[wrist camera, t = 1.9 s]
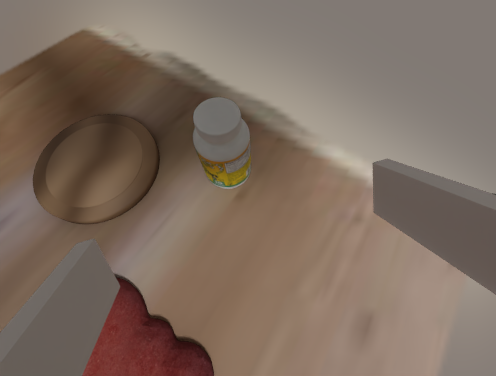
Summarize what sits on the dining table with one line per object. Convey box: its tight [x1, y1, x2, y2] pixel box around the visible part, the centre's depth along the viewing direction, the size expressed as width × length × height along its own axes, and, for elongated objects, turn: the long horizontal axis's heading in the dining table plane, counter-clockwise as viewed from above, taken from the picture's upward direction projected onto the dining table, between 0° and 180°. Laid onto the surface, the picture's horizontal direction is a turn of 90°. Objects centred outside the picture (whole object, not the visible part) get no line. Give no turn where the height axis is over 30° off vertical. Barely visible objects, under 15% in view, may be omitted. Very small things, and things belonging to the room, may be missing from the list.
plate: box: [33, 114, 160, 224], centre depth 29 cm, size 14×14×1 cm
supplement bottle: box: [193, 97, 251, 189], centre depth 25 cm, size 5×5×10 cm
